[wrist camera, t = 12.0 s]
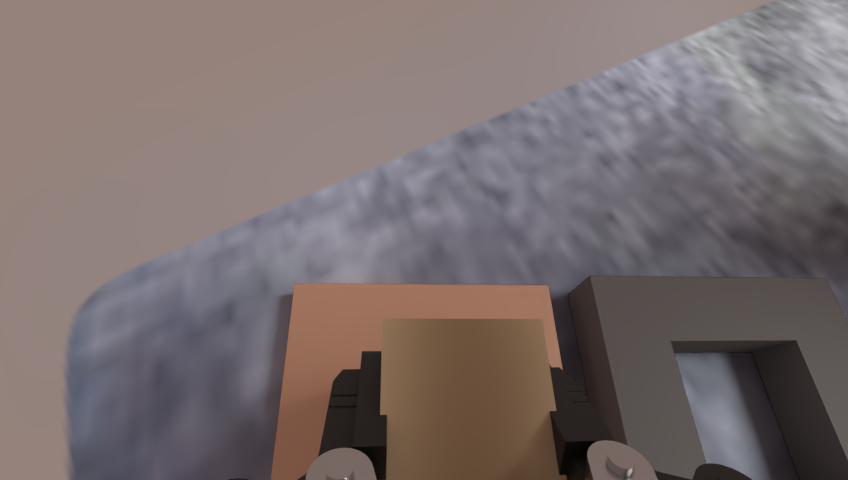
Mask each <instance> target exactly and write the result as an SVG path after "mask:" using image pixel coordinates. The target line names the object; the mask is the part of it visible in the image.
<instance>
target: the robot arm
mask: <svg viewBox="0 0 848 480" xmlns="http://www.w3.org/2000/svg"><path fill="white" fill-rule="evenodd" d="M381 353H382V351H362V356H361V366H360V369H343V370H342V371H341V372H340V373H339V374H338V376H337V377H336V378H335V379H334V380H333V384H332V389H331V394H330V399H329V404H328V409H327V414H326V419H325V425H324V430H323V435H322V440H321V445H320V450H319V455H318V458H316V459H315V460H314V461H313V463H312V464H311V465H310V467H309V469H308V471H307V473H306V474H305V475H303V476H302V477H301V478H299V479H298V480H386V461H387V415H380V397H381ZM549 366H550V364H549ZM550 372H551V379H552V385H553V392H554V398H555V405H556V411H550V417H551V424H552V430H553V437H554V444H555V450H556V457H557V464H558V470H559V475H566V476H567V480H752V479H750V478H749V477H747V476H746V475H744V474H742V473H740V472H738V471H736V470H734V469H732V468H729V467H726V466H723V465H719V464H703V465H700V466H699V467H697V469H696V470H695V473H694V476H693V479H688V478H683V477H679V476H675V475H670V474H666V473H662V472H658V471H655V470H653V468H652V466H651V464H650V463H649V462H648V460H647V459H646V458H645V457H644V456H642V455H641V454H640V453H639V452H637V451H636V450H634V449H633V448H631V447H629V446H627V445H625V444H622V443H619V442H616V441H615V439H614V438H613V436H612V435H611V433H610V432H609V430H608V429H607V427H606V426H605V424H604V423H603V421H602V420H601V418H600V417H599V415H598V414H597V412H596V411H595V409H594V408H593V406H592V405H591V404H589V401H588V399H587V398H586V396H585V395H584V394H582V390H581V389H580V387H579V386H578V384H577V383H576V381H575V380H574V378H572V377H571V376H570V375H569V374H567V373H566V372H565V371H563V370H562V369H561V368H559V367H551V366H550ZM229 480H248V479H240V478H236V479H229Z"/></svg>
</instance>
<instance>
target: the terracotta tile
mask: <svg viewBox="0 0 848 480" xmlns="http://www.w3.org/2000/svg"><path fill="white" fill-rule="evenodd" d="M382 319H542V321H543V327H544V334H545V340H546V347H547V353H548V360H549V364H550V366H551V367H559V368H561V369H562V370H563V368H562V362H561V356H560V351H559V345H558V339H557V333H556V327H555V321H554V316H553V310H552V304H551V298H550V292H549V286H548V285H434V284H314V283H295V284H294V292H293V300H292V308H291V317H290V325H289V333H288V341H287V349H286V358H285V366H284V374H283V382H282V390H281V399H280V407H279V415H278V423H277V431H276V440H275V448H274V456H273V464H272V472H271V480H298V479H299V478H301V477H302V476H303V475H305V474H306V473H307V471H308V469H309V467H310V465H311V464H312V463H313V461H314V460H315V459H316V458H318V455H319V450H320V445H321V440H322V435H323V430H324V425H325V419H326V414H327V409H328V404H329V399H330V394H331V389H332V384H333V380H334V379H335V378H336V377H337V376H338V374H339V373H340V372H341V371H342V370H343V369H360V366H361V356H362V351H382Z"/></svg>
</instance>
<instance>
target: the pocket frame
mask: <svg viewBox="0 0 848 480" xmlns="http://www.w3.org/2000/svg"><path fill="white" fill-rule="evenodd" d="M568 295H569V301H570V306H571V311H572V316H573V322H574V327H575V332H576V337H577V342H578V348H579V353H580V358H581V363H582V368H583V374H584V379H585V384H586V389H587V394H588V400H589V404H591V405H592V406H593V408H594V409H595V411H596V412H597V414H598V415H599V417H600V418H601V420H602V421H603V423H604V424H605V426H606V427H607V429H608V430H609V432H610V433H611V435H612V436H613V438H614V439H615V441H616V442H619V443H622V444H625V445H627V446H629V447H631V448H633V449H634V450H636V451H637V452H639V453H640V454H641V455H642V456H644V457H645V458H646V459H647V460H648V462H649V463H650V464H651V466H652V468H653V470H655V471H658V472H662V473H666V474H670V475H675V476H679V477H683V478H688V479H693V476H694V473H695V470H696V469H697V467H699V466H700V465H703V464H706V460H705V457H704V454H703V450H702V447H701V443H700V440H699V436H698V433H697V430H696V426H695V423H694V419H693V416H692V413H691V409H690V406H689V402H688V399H687V396H686V392H685V389H684V385H683V382H682V378H681V375H680V372H679V368H678V365H677V361H676V358H675V355H674V353H678V352H752V354H753V356H754V359H755V362H756V364H757V367H758V370H759V372H760V375H761V378H762V380H763V383H764V386H765V388H766V391H767V393H768V396H769V399H770V401H771V404H772V407H773V409H774V412H775V415H776V417H777V420H778V423H779V425H780V428H781V431H782V433H783V436H784V439H785V441H786V444H787V447H788V449H789V452H790V455H791V457H792V460H793V462H794V465H795V468H796V470H797V473H798V476H799V478H800V480H848V322H847V320H846V318H845V316H844V314H843V312H842V310H841V308H840V306H839V304H838V302H837V300H836V298H835V296H834V294H833V292H832V290H831V288H830V286H829V284H828V282H827V280H826V278H752V277H659V276H589V277H588V278H587V279H586V280H584V281H583V282H582V283H581V284H580V285H578V286H577V287H576V288H575V289H574V290H572V291H571V292H570V293H569V294H568Z"/></svg>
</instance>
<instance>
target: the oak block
mask: <svg viewBox="0 0 848 480" xmlns="http://www.w3.org/2000/svg"><path fill="white" fill-rule="evenodd" d="M550 411H556V405H555V398H554V392H553V385H552V379H551V372H550V366H549V360H548V353H547V347H546V340H545V334H544V327H543V321H542V319H382V353H381V397H380V415H387V461H386V480H567V476H566V475H559V470H558V464H557V457H556V450H555V444H554V437H553V430H552V424H551V417H550Z"/></svg>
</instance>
